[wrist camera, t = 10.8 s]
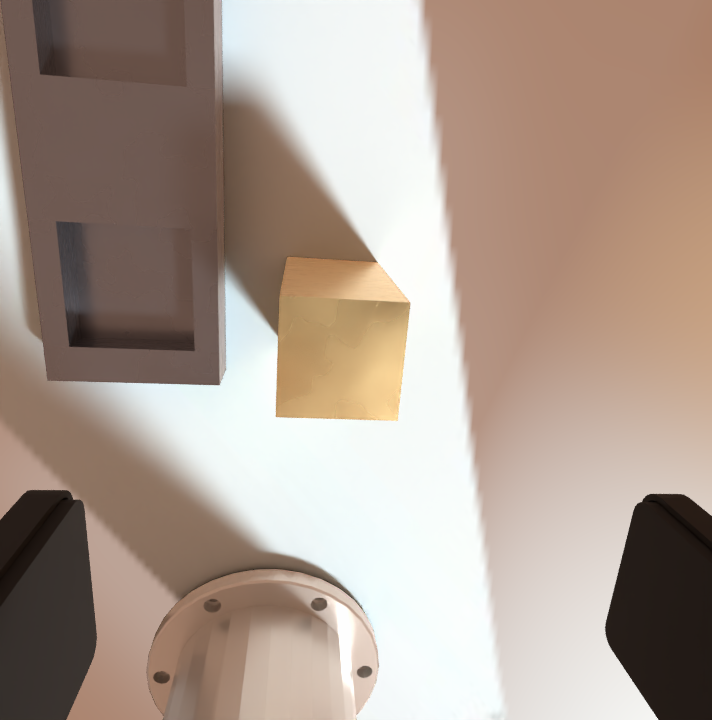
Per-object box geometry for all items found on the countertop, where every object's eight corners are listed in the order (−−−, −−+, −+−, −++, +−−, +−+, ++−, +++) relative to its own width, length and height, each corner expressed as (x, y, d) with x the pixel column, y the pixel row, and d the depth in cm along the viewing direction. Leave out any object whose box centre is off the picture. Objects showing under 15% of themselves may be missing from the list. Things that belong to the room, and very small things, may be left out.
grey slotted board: (225, 369, 25) (219, 385, 23) (67, 364, 25) (47, 380, 23) (220, -104, 20) (211, -133, 18) (13, -129, 19) (-20, -162, 17)
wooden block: (370, 347, 26) (397, 420, 18) (284, 343, 25) (275, 416, 18) (377, 262, 24) (410, 302, 17) (287, 256, 24) (279, 295, 16)
